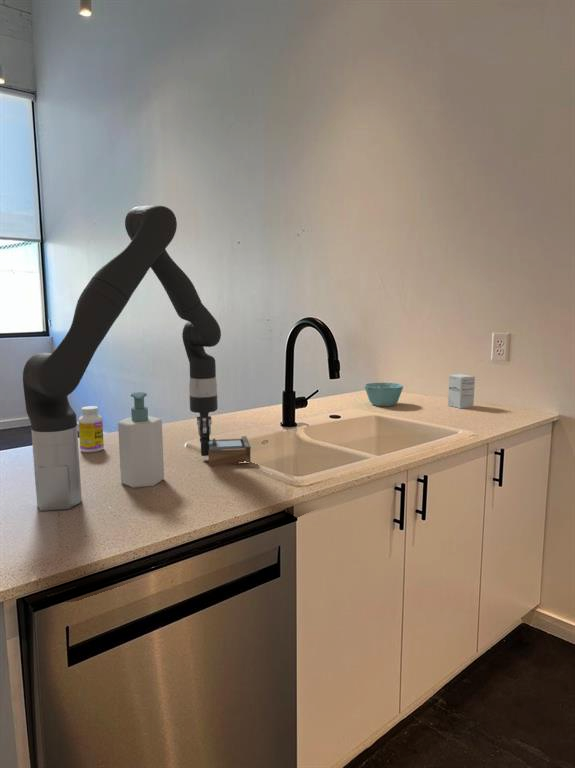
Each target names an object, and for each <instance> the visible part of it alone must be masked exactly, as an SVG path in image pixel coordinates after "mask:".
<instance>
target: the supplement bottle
mask: <svg viewBox="0 0 575 768" xmlns="http://www.w3.org/2000/svg"><path fill="white" fill-rule="evenodd" d="M81 414H82V415H80V416H79V418H78V433H79V434H78V438H79V448H80V449H79V450H80V451H81V452H82V453H87V454H88V453H97V452H100V451H102V450H104V448H105V447H104V445H105V444H104V425H103V422H104V421H103V417H102V416H101V415H100V414H99V407H98V406H96V405H89V406H88V405H87V406H83V407H81Z"/></svg>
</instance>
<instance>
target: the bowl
mask: <svg viewBox="0 0 575 768" xmlns="http://www.w3.org/2000/svg"><path fill="white" fill-rule="evenodd" d="M363 386H364V390H365V392H366V395H367V398H368V400H369V403H371V404H372V405H373V406H375V407H393V406H395V405H397V404H398V402H399V400H400V396H401V394H402V393H403V389H404V385H403V384H401V383H396V382H384V381H383V382H371V383H370V382H369V383H365V384H364V385H363Z"/></svg>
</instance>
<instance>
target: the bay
mask: <svg viewBox="0 0 575 768" xmlns="http://www.w3.org/2000/svg"><path fill="white" fill-rule="evenodd" d="M234 440H240V441H241V443H242V448H238V449H218V450H208V454H209V455H208V467H209V466H227V465H229V466H230V465H239V464H238V463H239V462H244V461H246V462H250V463H249V464H251V448H252V447H251V445H250V442H249V440H248V437H247V436H246V435H245V436H241V438H223V439H222V438H221V439H219V438H218V439H216V441H234ZM212 441H213V440H212V439H210V441H209V442H212Z"/></svg>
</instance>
